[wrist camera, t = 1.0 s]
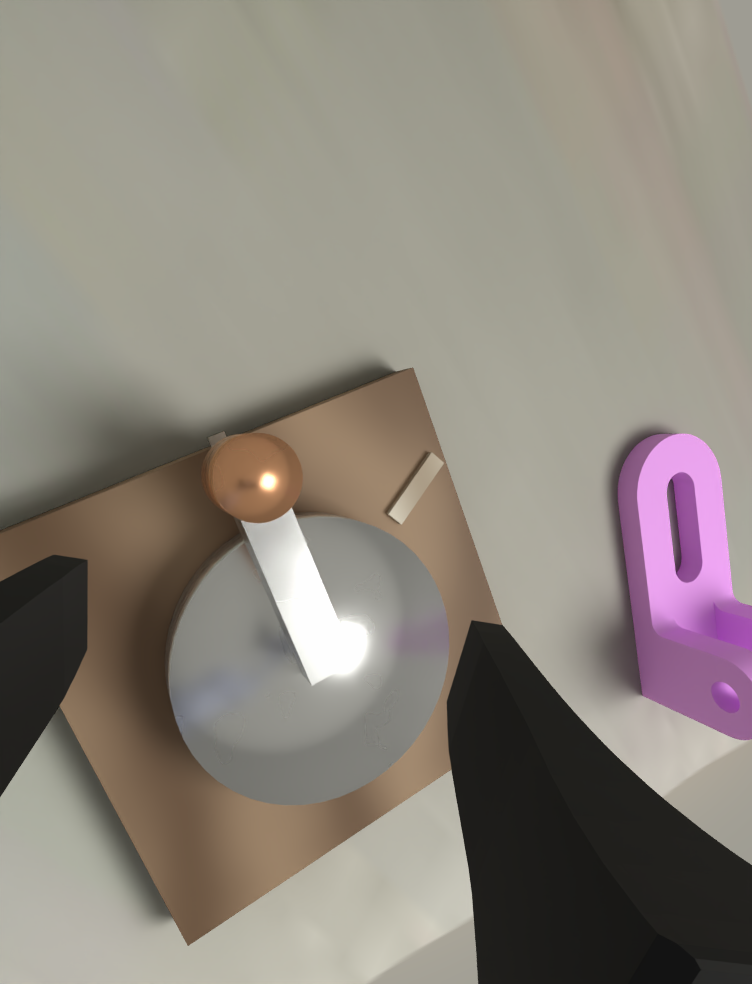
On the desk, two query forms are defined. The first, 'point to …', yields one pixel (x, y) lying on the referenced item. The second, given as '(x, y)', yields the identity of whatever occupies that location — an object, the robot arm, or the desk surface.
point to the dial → (300, 639)
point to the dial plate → (150, 606)
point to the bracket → (685, 586)
